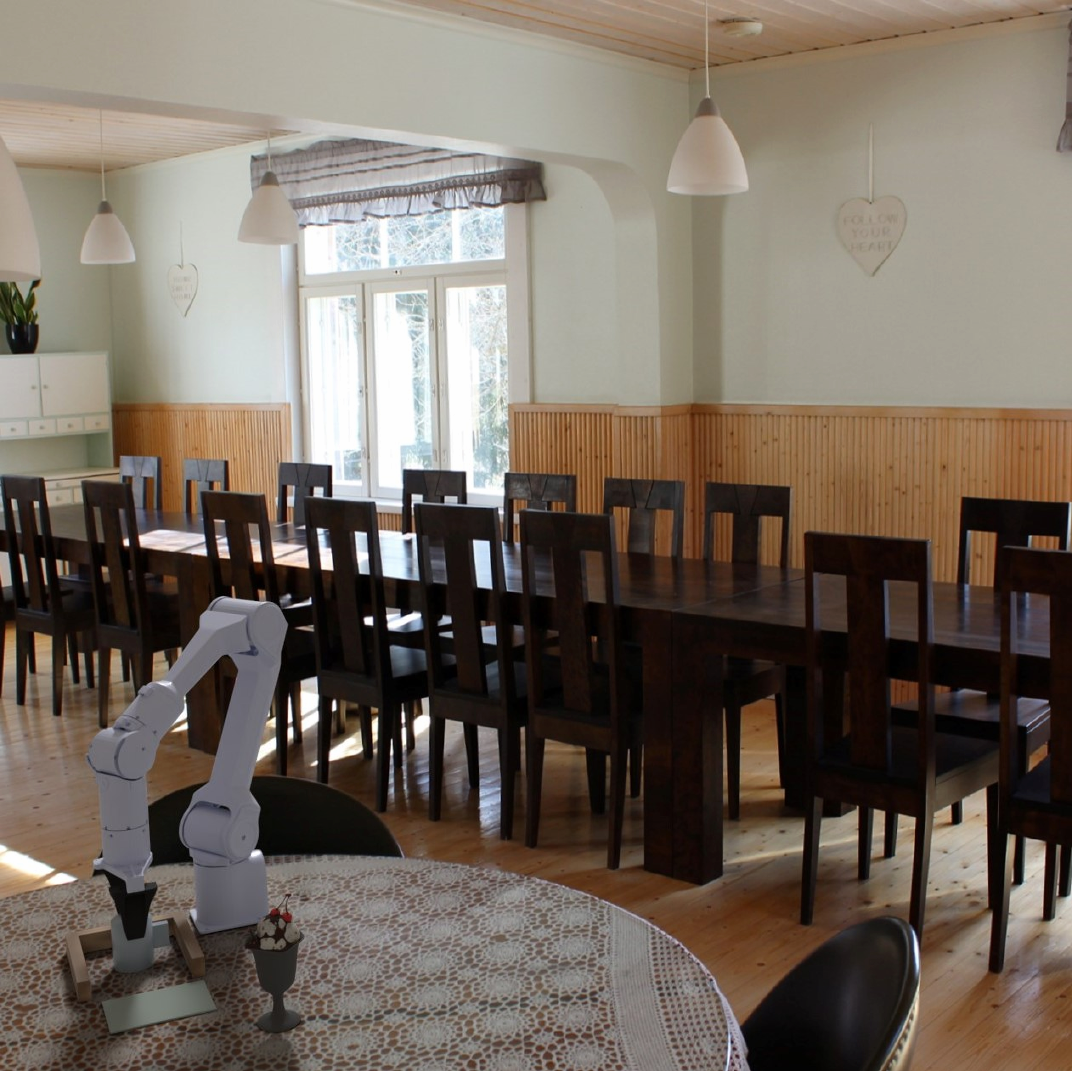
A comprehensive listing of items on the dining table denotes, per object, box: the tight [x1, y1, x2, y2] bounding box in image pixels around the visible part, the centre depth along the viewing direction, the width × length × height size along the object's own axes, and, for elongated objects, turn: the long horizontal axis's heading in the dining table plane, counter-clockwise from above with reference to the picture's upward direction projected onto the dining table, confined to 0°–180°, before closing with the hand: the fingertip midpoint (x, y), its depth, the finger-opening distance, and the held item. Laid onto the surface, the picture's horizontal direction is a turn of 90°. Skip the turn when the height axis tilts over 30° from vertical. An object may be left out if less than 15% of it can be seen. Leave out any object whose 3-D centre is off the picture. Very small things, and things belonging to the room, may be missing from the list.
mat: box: [101, 979, 218, 1035], centre depth 154 cm, size 12×8×1 cm, turn 115°
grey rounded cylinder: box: [110, 912, 171, 974], centre depth 165 cm, size 7×5×6 cm
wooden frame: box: [64, 910, 206, 1003], centre depth 165 cm, size 15×15×2 cm
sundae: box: [244, 893, 305, 1033], centre depth 149 cm, size 7×7×15 cm
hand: (131, 926), depth 165 cm, fingers open, 7 cm apart
